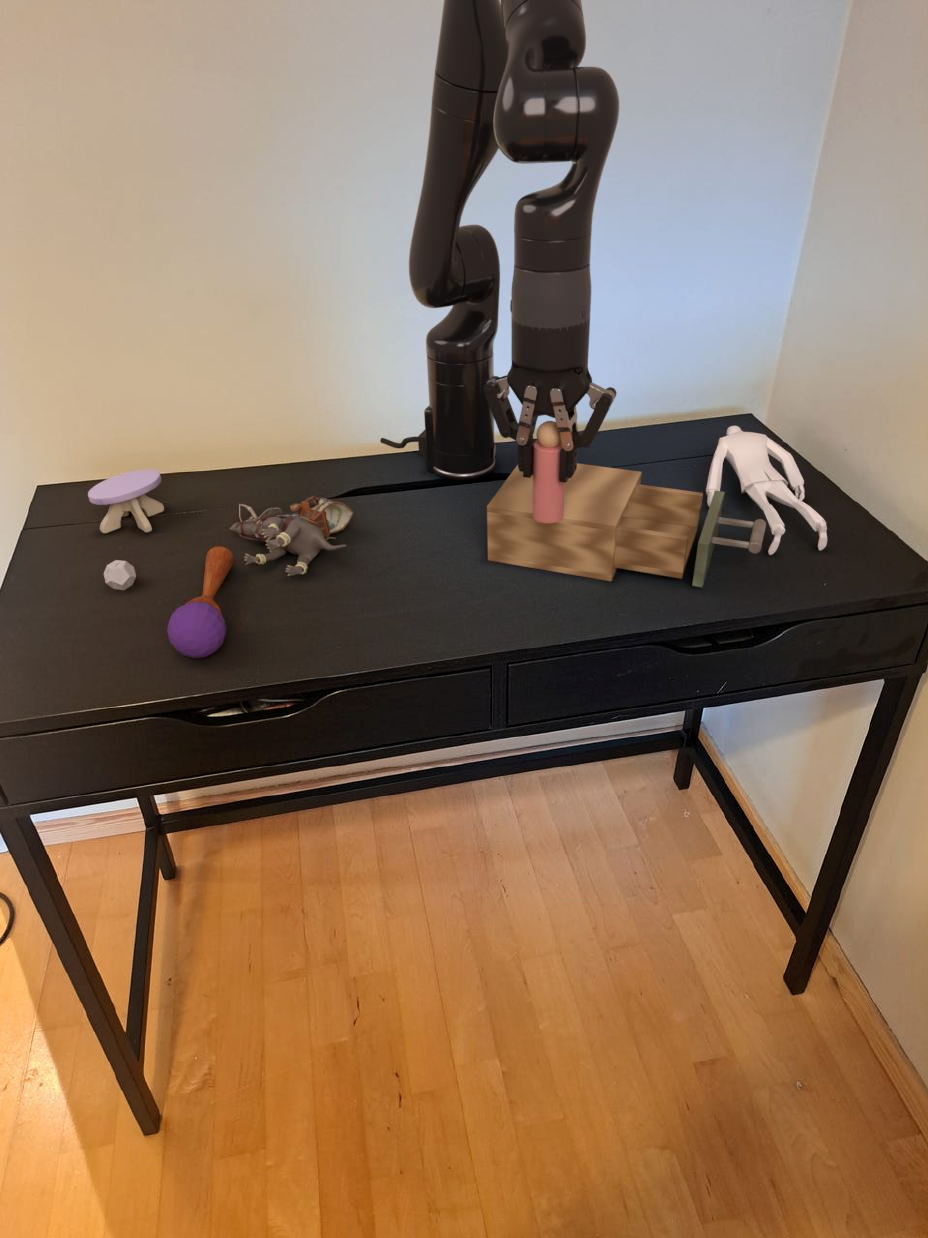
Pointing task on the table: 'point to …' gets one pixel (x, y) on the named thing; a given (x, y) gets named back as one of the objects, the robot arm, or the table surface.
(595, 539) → the cabinet
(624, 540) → the drawer
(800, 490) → the male figurine
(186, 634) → the purple maraca
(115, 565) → the game die
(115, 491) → the toy table
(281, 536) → the figurine
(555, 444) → the pink game pawn
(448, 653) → the table surface
